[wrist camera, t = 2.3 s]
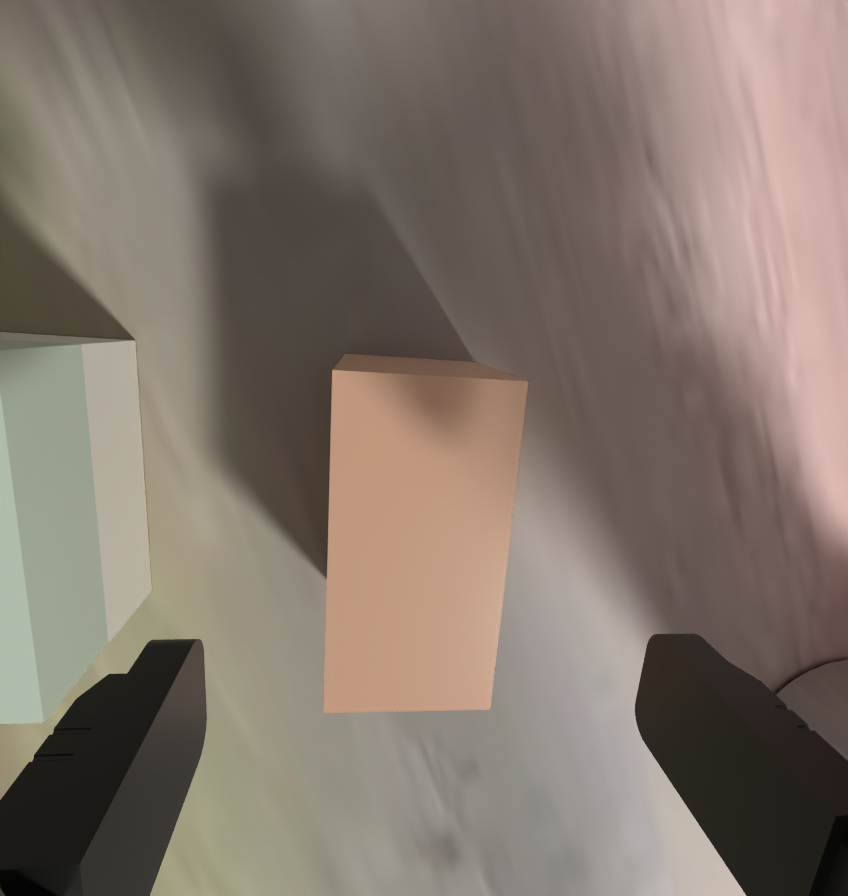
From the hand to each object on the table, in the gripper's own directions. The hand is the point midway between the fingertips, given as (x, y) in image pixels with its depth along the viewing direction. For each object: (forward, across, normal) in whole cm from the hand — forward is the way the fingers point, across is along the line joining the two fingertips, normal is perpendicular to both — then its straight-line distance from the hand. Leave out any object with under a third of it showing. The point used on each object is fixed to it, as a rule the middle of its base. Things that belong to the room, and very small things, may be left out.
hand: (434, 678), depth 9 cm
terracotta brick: (+12, 0, 0) cm, 12 cm away
